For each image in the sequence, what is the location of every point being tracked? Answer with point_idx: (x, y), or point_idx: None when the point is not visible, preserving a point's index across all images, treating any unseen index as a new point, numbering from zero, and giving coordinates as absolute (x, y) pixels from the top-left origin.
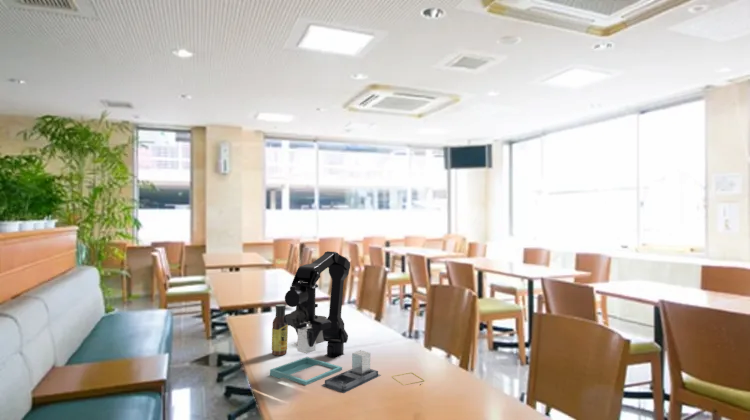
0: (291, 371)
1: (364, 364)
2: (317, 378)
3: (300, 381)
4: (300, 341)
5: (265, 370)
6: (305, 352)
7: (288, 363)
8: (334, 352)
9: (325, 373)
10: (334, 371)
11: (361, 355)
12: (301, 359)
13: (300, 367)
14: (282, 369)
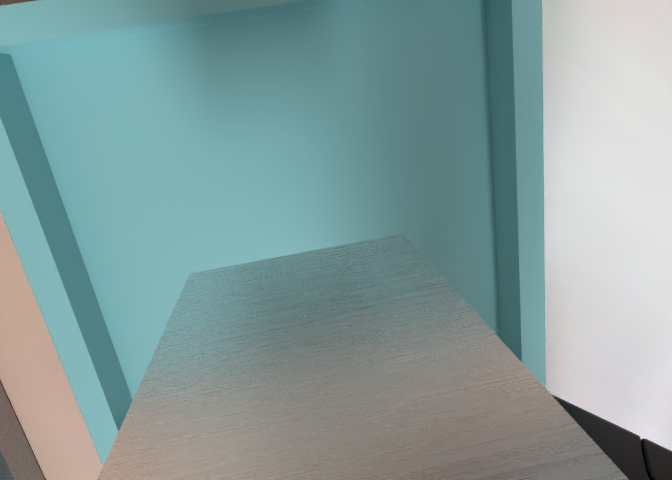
0: (437, 167)
1: None
2: (5, 201)
3: (24, 5)
4: (371, 333)
5: (657, 18)
6: (209, 275)
7: (537, 195)
8: None
9: (56, 322)
10: (90, 417)
11: None
12: (529, 343)
13: (458, 280)
14: (499, 97)
